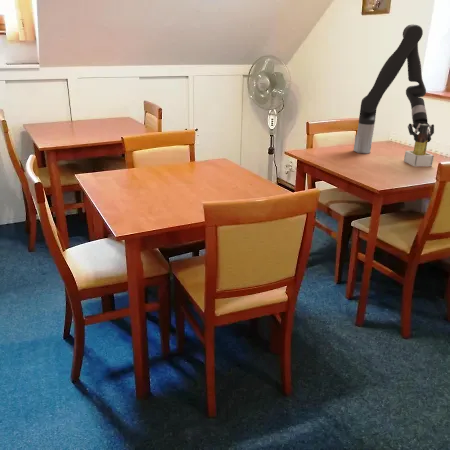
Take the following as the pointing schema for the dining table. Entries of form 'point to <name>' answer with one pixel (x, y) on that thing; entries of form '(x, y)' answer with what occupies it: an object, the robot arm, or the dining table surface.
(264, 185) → the dining table surface
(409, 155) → the bottle holder
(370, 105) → the robot arm
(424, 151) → the sauce bottle
